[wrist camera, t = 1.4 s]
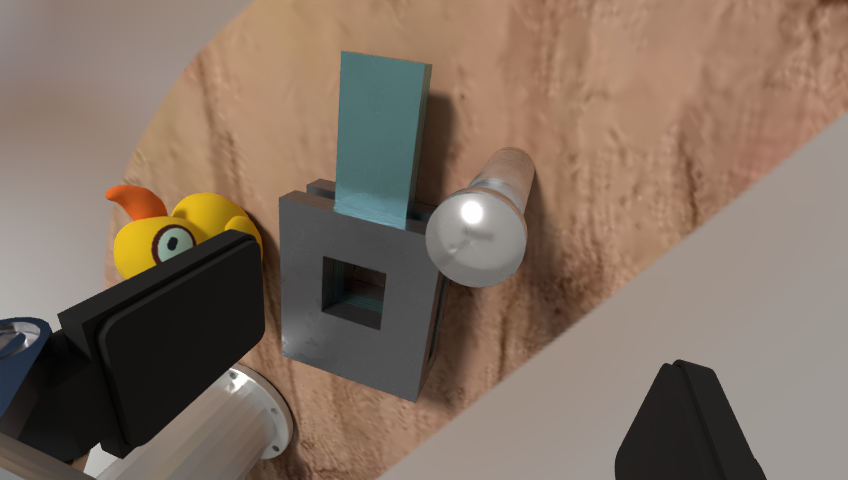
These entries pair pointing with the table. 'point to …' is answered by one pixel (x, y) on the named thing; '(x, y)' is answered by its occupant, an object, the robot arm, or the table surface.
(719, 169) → the table surface
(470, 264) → the pin
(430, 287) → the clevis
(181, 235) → the duckling
